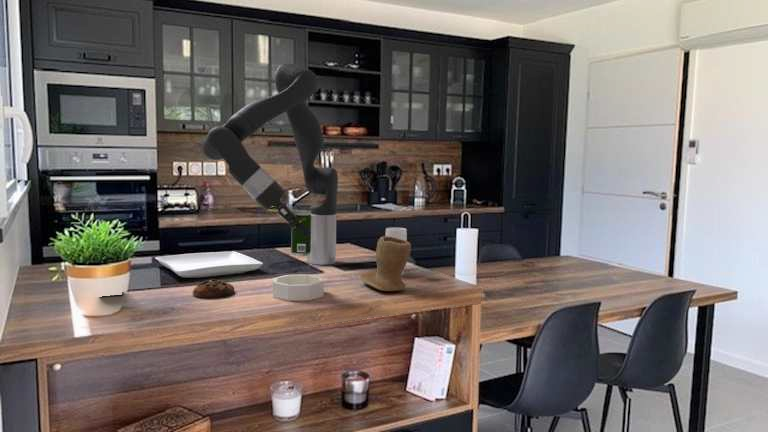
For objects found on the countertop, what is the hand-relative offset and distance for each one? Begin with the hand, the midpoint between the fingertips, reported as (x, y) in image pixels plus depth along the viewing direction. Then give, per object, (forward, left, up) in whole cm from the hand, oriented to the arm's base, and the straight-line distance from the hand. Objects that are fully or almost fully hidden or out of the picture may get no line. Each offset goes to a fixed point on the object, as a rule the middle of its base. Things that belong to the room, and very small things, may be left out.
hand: (307, 233), depth 156 cm
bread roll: (-19, -17, -17) cm, 30 cm away
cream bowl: (-1, -2, -17) cm, 17 cm away
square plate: (-46, +3, -17) cm, 49 cm away
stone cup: (+13, +20, -17) cm, 29 cm away
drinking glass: (+5, +36, -17) cm, 40 cm away
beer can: (-1, -1, -6) cm, 6 cm away
